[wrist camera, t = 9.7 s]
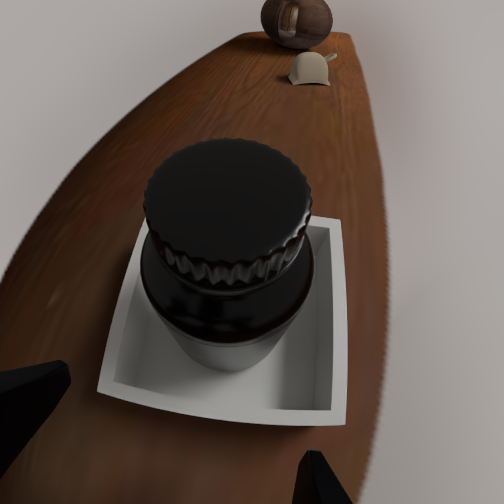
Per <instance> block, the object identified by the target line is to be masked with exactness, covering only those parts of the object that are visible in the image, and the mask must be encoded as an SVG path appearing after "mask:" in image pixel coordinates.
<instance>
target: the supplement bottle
mask: <svg viewBox="0 0 504 504" xmlns="http://www.w3.org/2000/svg"><path fill="white" fill-rule="evenodd" d="M310 192H311V188H310V186H309V185H308V184H307V183H306V177H305V176H304V175H303V174H302V173H301V171H300V168H299V167H298V166H297V165H295V164H294V163H293V162H292V161H291V159H290V158H288V157H286V156H284V155H283V154H282V153H281V152H280V151H278V150H275V149H272V148H270V147H269V146H268V145H264V144H259V143H258V142H256V141H249V140H244V139H241V138H238V139H231V138H222V139H210V140H207V141H199V142H197V143H195V144H193V145H188V146H185V147H184V148H183V149H181V150H179V151H176V152H174V153H173V154H172V155H171V156H170V157H168V158H166V159H164V160H163V162H162V163H161V165H160V166H159V167H157V168H156V169H155V170H154V174H153V175H152V176H151V177H150V178H149V179H148V186H147V188H146V189H145V191H144V196H145V200H144V203H143V208H144V212H145V215H146V216H145V217H146V223H147V226H148V229H149V231H148V233H147V235H146V237H145V240H144V243H143V246H142V251H141V256H140V274H141V281H142V284H143V288H144V291H145V293H146V296H147V298H148V300H149V302H150V304H151V306H152V307H153V309H154V311H155V312H156V313H157V315H158V316H159V318H160V319H161V321H162V322H163V324H164V325H165V326H166V328H167V329H168V331H169V332H170V333H171V335H172V336H173V337H174V339H175V340H176V342H177V343H178V344H179V346H180V347H181V348H182V349H183V351H184V352H185V353H186V354H187V355H188V356H189V357H190V358H191V359H193V360H194V361H195V362H197V363H198V364H200V365H202V366H204V367H206V368H209V369H212V370H216V371H222V372H233V371H240V370H244V369H247V368H249V367H252V366H254V365H255V364H257V363H259V362H260V361H262V360H263V359H264V358H265V357H266V356H267V355H268V354H269V353H270V352H271V351H272V350H273V348H274V347H275V346H276V344H277V343H278V342H279V340H280V339H281V338H282V336H283V335H284V333H285V332H286V330H287V329H288V328H289V326H290V325H291V323H292V322H293V320H294V319H295V318H296V316H297V315H298V313H299V312H300V310H301V308H302V307H303V305H304V303H305V301H306V299H307V297H308V295H309V292H310V290H311V287H312V283H313V278H314V269H315V262H314V253H313V249H312V245H311V242H310V239H309V236H308V234H307V232H306V229H307V226H308V224H309V221H310V218H311V207H312V203H313V200H312V198H311V196H310Z"/></svg>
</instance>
